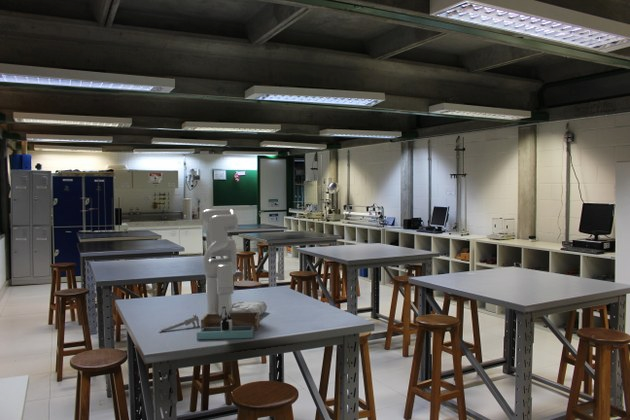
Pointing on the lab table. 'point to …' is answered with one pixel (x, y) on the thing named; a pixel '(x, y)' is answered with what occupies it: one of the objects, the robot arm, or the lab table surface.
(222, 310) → the robot arm
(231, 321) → the white speckled block
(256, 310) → the white folded cloth
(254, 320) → the dock
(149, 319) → the lab table surface
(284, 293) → the lab table surface
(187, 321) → the caliper
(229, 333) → the tray
